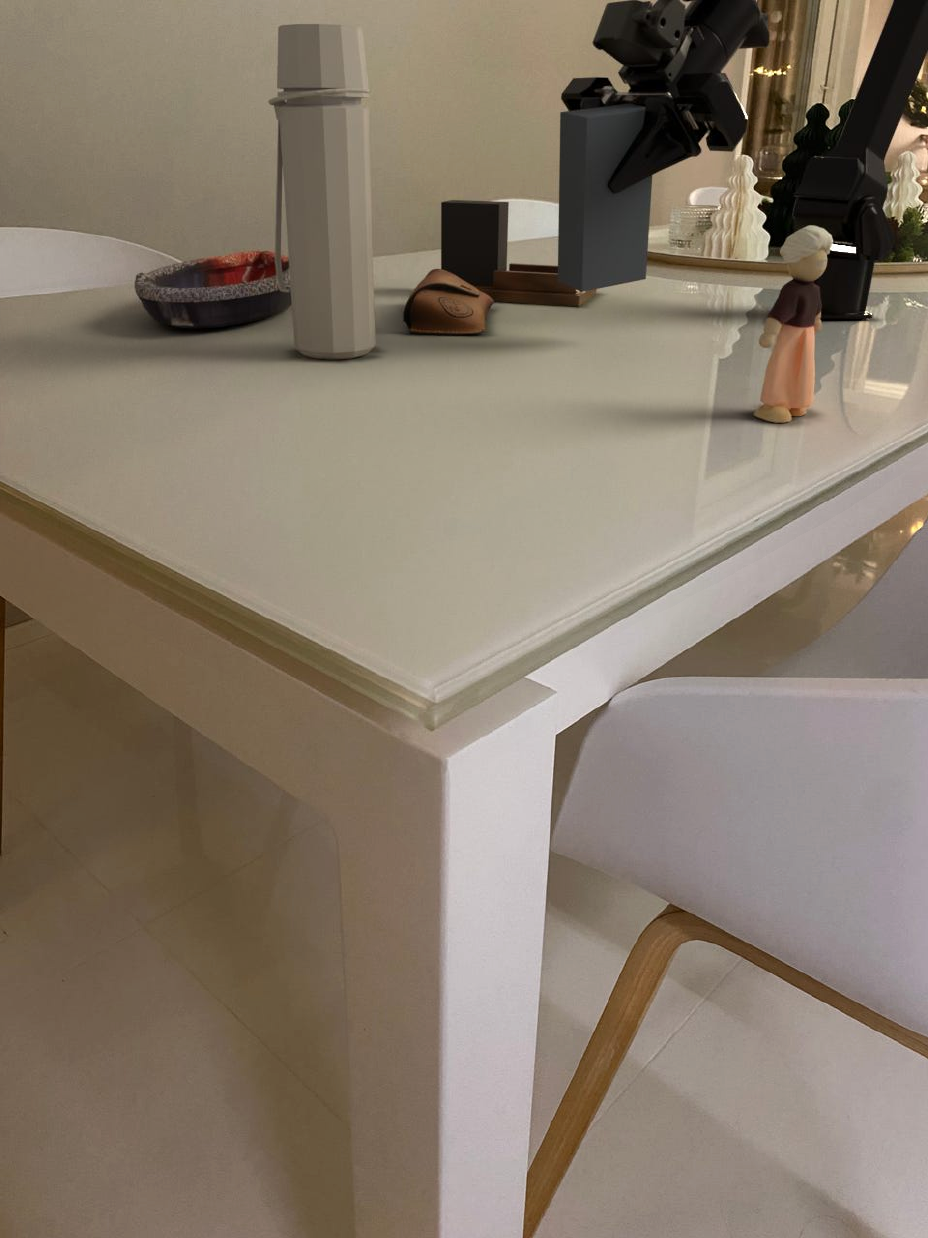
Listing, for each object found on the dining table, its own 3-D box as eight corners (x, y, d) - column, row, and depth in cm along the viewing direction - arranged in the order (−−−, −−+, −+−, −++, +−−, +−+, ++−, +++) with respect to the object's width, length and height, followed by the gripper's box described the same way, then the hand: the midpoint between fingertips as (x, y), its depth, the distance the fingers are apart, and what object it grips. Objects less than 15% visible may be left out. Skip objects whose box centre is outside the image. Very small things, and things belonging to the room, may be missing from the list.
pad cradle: (596, 294, 122) (602, 203, 117) (578, 306, 113) (584, 209, 109) (451, 285, 127) (452, 197, 122) (424, 296, 118) (424, 203, 114)
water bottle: (392, 348, 91) (386, 30, 80) (348, 365, 85) (334, 21, 74) (306, 339, 95) (289, 32, 84) (257, 354, 88) (231, 24, 77)
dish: (95, 334, 96) (87, 279, 93) (215, 287, 123) (211, 243, 121) (252, 341, 93) (248, 285, 91) (339, 292, 121) (337, 248, 119)
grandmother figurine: (795, 429, 69) (827, 231, 63) (740, 421, 70) (766, 227, 65) (824, 406, 75) (855, 223, 69) (772, 399, 76) (799, 219, 71)
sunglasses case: (490, 330, 97) (456, 266, 95) (428, 366, 99) (392, 304, 96) (495, 300, 113) (465, 246, 111) (441, 332, 115) (411, 279, 113)
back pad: (620, 269, 95) (628, 103, 87) (646, 279, 92) (657, 108, 84) (557, 281, 92) (559, 111, 84) (581, 292, 89) (586, 117, 81)
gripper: (583, -26, 89) (478, 113, 89) (741, -51, 75) (617, 113, 75) (642, 78, 97) (545, 206, 96) (796, 72, 83) (684, 222, 82)
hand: (592, 187), depth 87 cm, fingers closed on back pad, 5 cm apart
